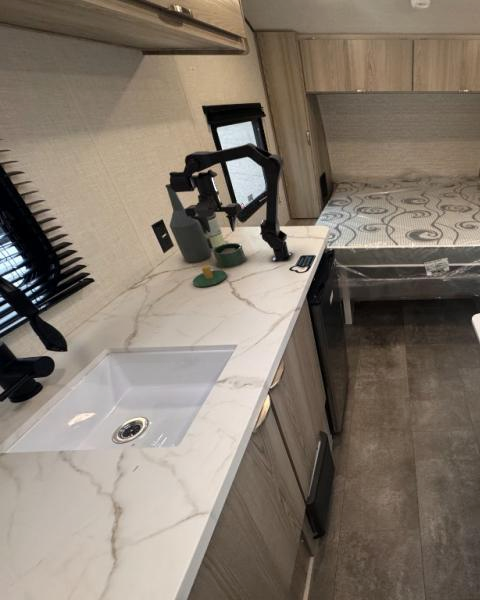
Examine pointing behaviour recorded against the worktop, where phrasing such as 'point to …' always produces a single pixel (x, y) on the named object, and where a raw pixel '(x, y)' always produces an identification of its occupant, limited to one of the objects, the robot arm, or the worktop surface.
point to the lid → (209, 277)
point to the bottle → (187, 232)
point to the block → (228, 250)
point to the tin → (229, 255)
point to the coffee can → (213, 233)
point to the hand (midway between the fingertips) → (221, 231)
